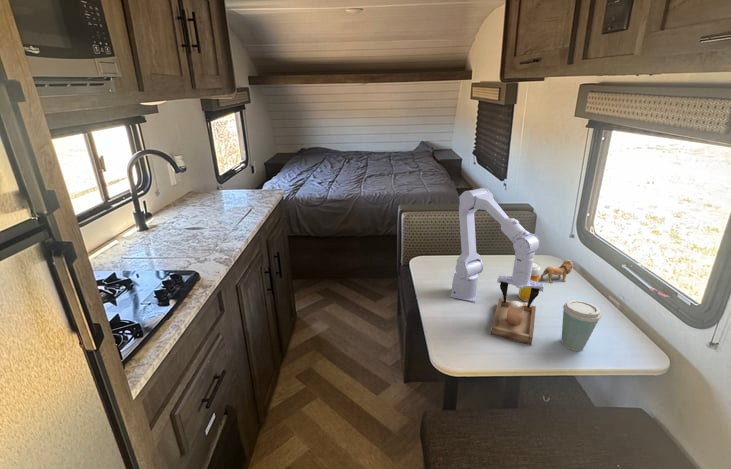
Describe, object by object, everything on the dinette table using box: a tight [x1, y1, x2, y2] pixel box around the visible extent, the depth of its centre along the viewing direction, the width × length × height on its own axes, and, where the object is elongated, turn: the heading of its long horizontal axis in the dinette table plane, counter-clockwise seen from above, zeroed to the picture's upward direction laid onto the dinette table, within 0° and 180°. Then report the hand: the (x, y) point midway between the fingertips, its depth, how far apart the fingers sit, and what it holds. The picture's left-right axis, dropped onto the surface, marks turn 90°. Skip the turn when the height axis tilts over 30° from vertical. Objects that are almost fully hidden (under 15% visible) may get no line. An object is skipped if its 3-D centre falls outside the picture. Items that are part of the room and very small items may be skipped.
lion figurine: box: [539, 259, 574, 284], centre depth 161 cm, size 15×5×9 cm, turn 105°
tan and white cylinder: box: [506, 300, 525, 326], centre depth 132 cm, size 5×5×7 cm
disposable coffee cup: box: [561, 299, 602, 352], centre depth 120 cm, size 11×11×15 cm
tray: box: [490, 298, 537, 346], centre depth 133 cm, size 13×20×3 cm, turn 155°
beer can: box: [518, 261, 541, 302], centre depth 146 cm, size 6×6×15 cm
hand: (516, 303), depth 131 cm, fingers open, 7 cm apart
